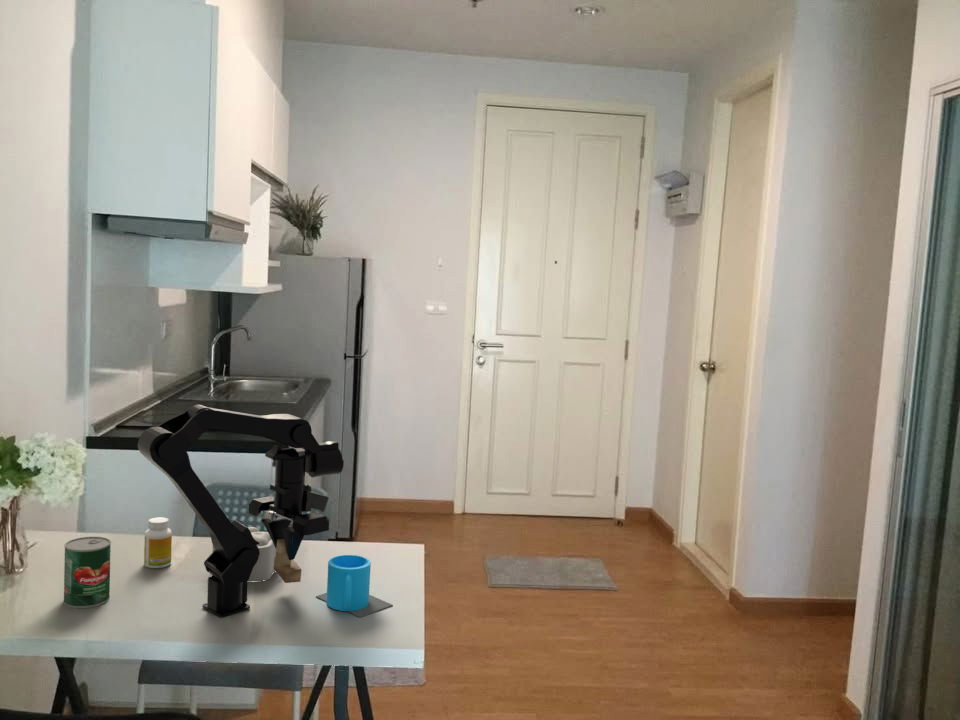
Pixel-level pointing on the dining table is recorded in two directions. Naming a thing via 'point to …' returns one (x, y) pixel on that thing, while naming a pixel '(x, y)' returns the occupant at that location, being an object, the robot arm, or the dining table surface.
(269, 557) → the lumpy-topped squat cylinder
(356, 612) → the charcoal mat
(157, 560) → the supplement bottle
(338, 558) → the mug
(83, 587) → the canned tomato
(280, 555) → the wooden t-shaped block
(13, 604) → the dining table surface
